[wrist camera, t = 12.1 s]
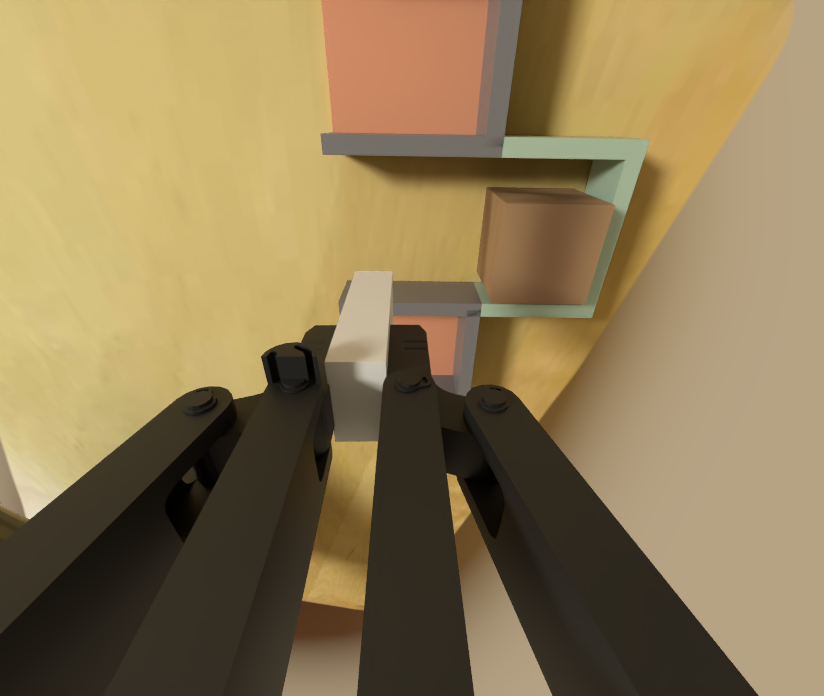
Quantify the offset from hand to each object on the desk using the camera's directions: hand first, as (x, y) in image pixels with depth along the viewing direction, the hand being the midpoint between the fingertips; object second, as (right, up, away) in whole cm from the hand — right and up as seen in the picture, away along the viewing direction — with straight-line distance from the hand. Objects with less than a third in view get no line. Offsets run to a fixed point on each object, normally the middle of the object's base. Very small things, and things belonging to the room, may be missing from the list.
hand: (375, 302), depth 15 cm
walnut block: (+10, +7, +11) cm, 16 cm away
